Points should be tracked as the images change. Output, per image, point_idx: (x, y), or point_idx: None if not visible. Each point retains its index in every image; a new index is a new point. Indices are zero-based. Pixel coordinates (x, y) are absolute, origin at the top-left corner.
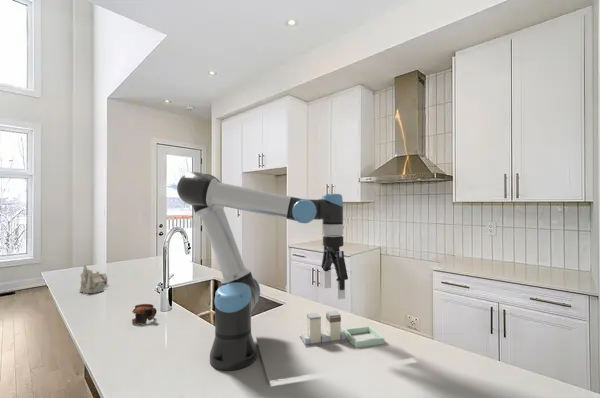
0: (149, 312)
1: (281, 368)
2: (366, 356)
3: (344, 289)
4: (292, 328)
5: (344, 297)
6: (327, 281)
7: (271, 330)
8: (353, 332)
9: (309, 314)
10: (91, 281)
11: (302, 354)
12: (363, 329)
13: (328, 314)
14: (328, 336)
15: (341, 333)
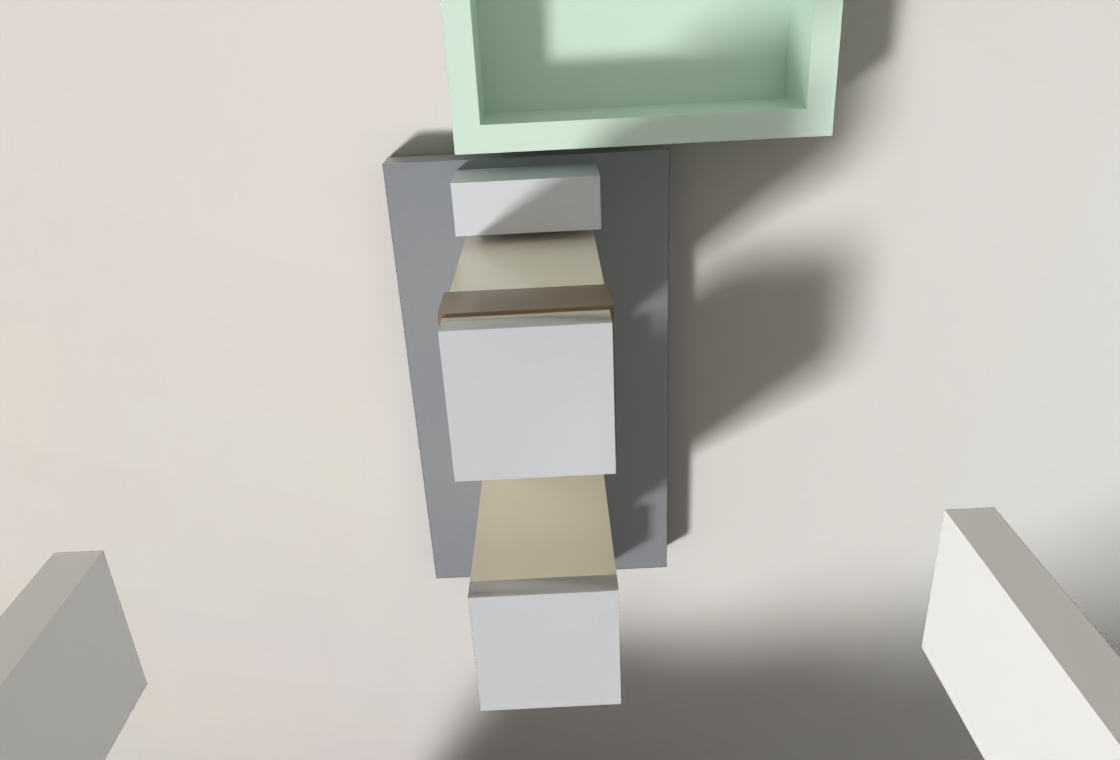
0: None
1: (844, 729)
2: (944, 53)
3: (1115, 669)
4: (183, 574)
5: (1003, 535)
6: (44, 758)
7: (217, 731)
8: (473, 6)
9: (506, 688)
10: None
11: (705, 582)
12: None
13: (545, 473)
14: None
15: (583, 223)
